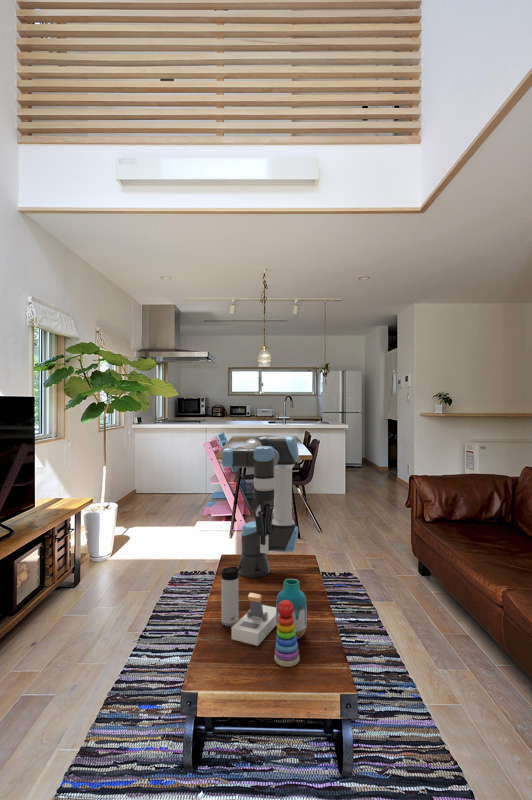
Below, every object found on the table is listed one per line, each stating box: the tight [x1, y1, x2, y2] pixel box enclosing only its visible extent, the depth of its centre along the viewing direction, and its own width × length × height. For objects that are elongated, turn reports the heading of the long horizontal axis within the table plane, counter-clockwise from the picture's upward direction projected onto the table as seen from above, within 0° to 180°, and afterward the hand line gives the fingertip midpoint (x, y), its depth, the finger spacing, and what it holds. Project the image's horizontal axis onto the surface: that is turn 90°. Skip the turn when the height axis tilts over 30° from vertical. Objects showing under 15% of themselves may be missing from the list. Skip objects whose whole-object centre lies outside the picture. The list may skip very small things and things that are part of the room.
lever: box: [247, 592, 263, 618], centre depth 161 cm, size 2×4×9 cm, turn 65°
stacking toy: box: [273, 600, 301, 668], centre depth 143 cm, size 8×8×19 cm
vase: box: [275, 578, 308, 640], centre depth 157 cm, size 11×11×19 cm
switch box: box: [231, 604, 277, 647], centre depth 162 cm, size 20×10×6 cm, turn 155°
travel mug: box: [220, 566, 240, 627], centre depth 167 cm, size 6×7×20 cm
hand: (264, 552), depth 168 cm, fingers closed
